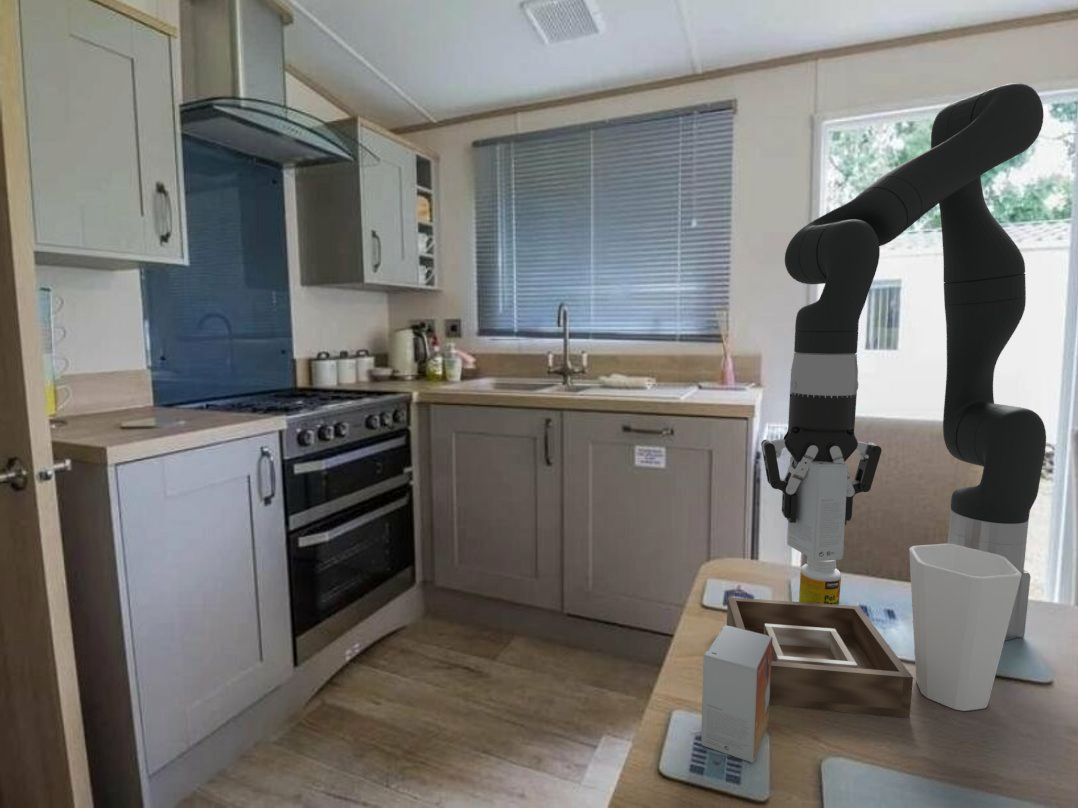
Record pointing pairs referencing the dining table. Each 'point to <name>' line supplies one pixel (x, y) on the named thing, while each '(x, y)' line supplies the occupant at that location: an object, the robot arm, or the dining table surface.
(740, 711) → the small box
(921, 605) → the cup
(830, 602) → the supplement bottle
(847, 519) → the robot arm
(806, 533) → the skincare box
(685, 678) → the dining table surface
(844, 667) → the walled box
